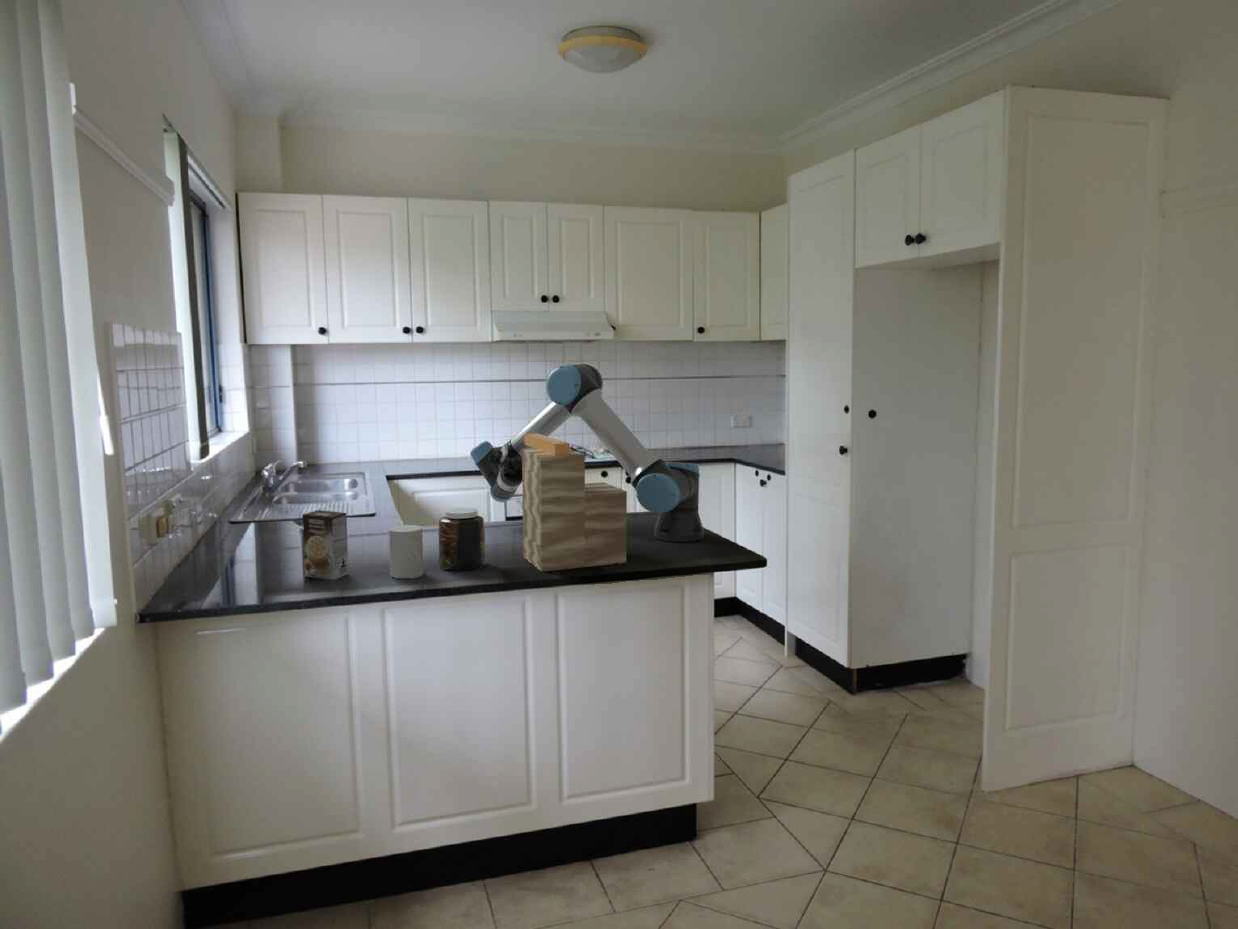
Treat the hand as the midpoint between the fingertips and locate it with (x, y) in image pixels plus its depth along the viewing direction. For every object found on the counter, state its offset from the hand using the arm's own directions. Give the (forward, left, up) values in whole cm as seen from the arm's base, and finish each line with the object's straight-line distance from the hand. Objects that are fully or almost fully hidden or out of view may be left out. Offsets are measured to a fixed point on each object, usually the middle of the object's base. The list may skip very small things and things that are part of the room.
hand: (529, 447), depth 241 cm
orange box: (-5, +12, +1) cm, 13 cm away
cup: (+30, +29, -29) cm, 51 cm away
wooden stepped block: (-12, +15, -29) cm, 35 cm away
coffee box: (+50, +29, -29) cm, 65 cm away
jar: (+17, +21, -29) cm, 40 cm away
